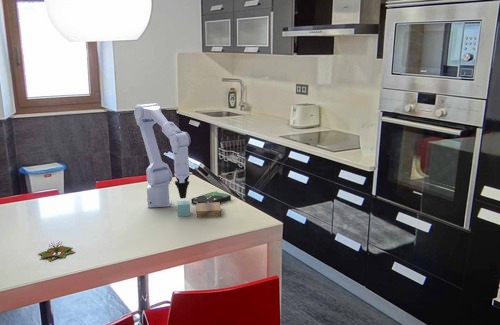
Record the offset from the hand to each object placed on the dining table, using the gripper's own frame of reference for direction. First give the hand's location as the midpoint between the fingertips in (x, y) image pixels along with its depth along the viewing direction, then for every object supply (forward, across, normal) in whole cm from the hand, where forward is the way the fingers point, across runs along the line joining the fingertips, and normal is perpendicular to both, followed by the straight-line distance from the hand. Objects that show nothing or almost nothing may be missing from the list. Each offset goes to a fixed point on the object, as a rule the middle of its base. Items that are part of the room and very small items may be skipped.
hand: (183, 195), depth 186 cm
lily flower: (+9, -31, +42) cm, 53 cm away
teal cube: (+8, 0, 0) cm, 8 cm away
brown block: (+9, 0, -10) cm, 13 cm away
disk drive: (+9, +14, -12) cm, 20 cm away
